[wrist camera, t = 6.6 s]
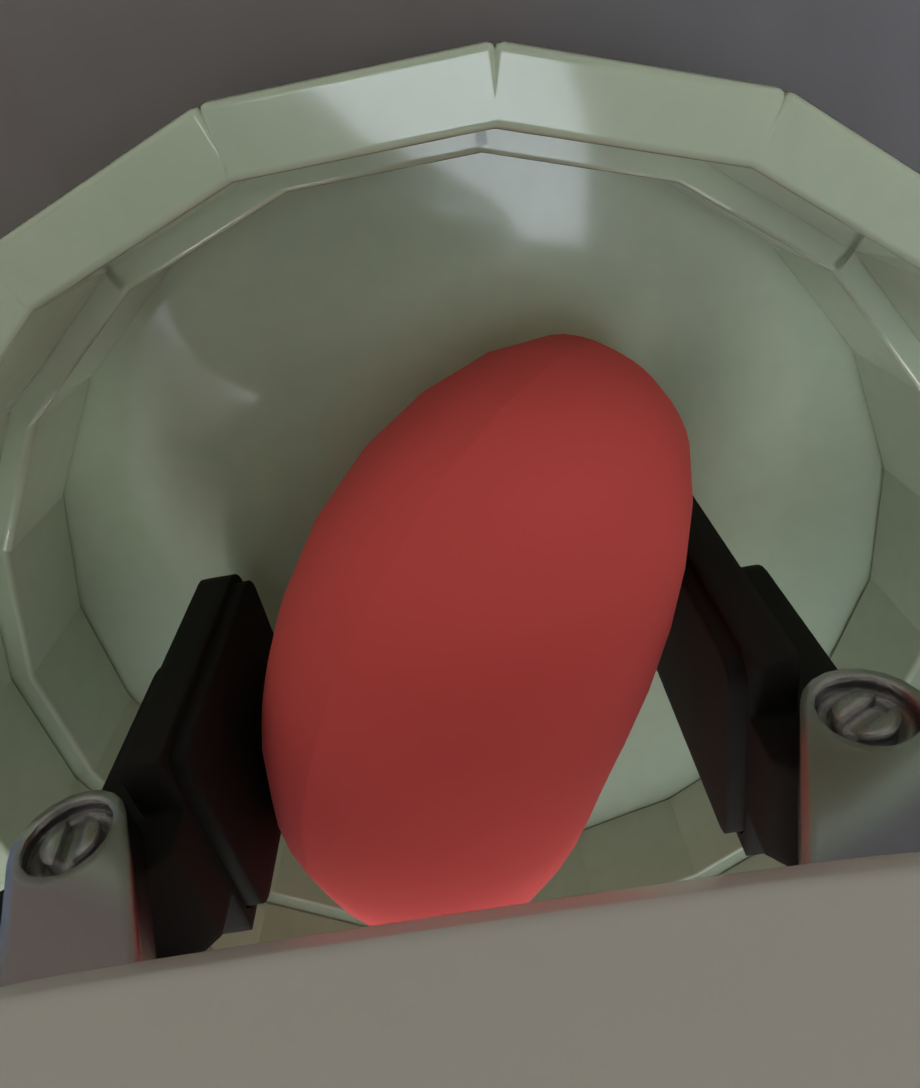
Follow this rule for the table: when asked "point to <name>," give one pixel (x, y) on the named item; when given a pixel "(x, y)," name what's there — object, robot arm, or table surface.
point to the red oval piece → (477, 631)
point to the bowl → (434, 354)
